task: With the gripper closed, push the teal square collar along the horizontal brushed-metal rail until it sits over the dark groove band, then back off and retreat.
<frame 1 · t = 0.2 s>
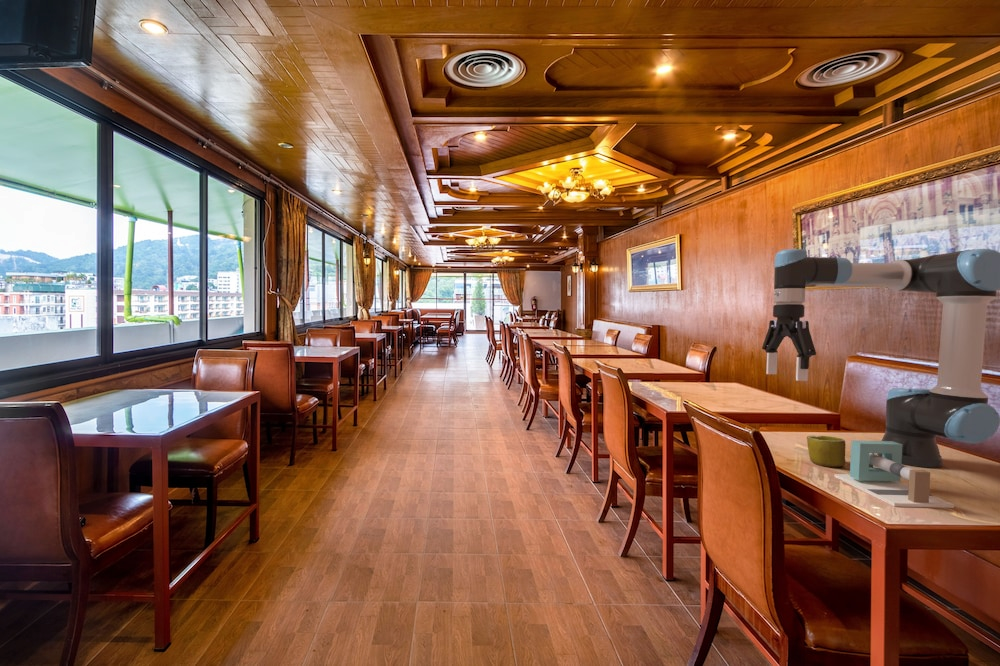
hand: (785, 377, 125), 28 cm above the table, fingers open, 13 cm apart
collar: (875, 460, 116), point 7 cm above the table, slide at 0.0 cm
pipe rail: (889, 491, 112), on the table
mug: (822, 462, 135), on the table
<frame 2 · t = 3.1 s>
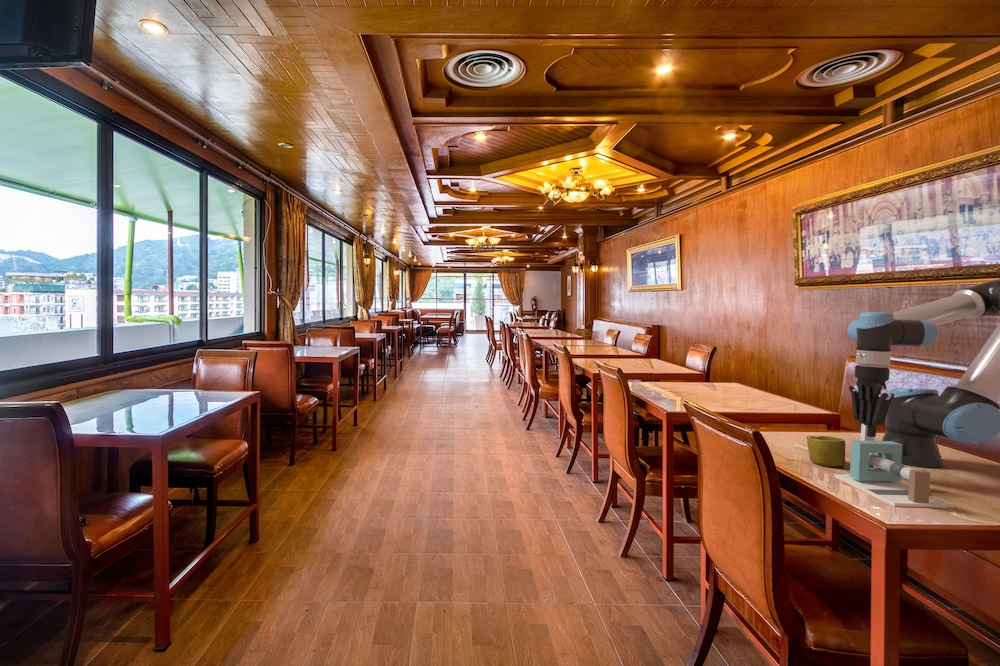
hand: (866, 446, 124), 8 cm above the table, fingers closed
nothing on the table moved.
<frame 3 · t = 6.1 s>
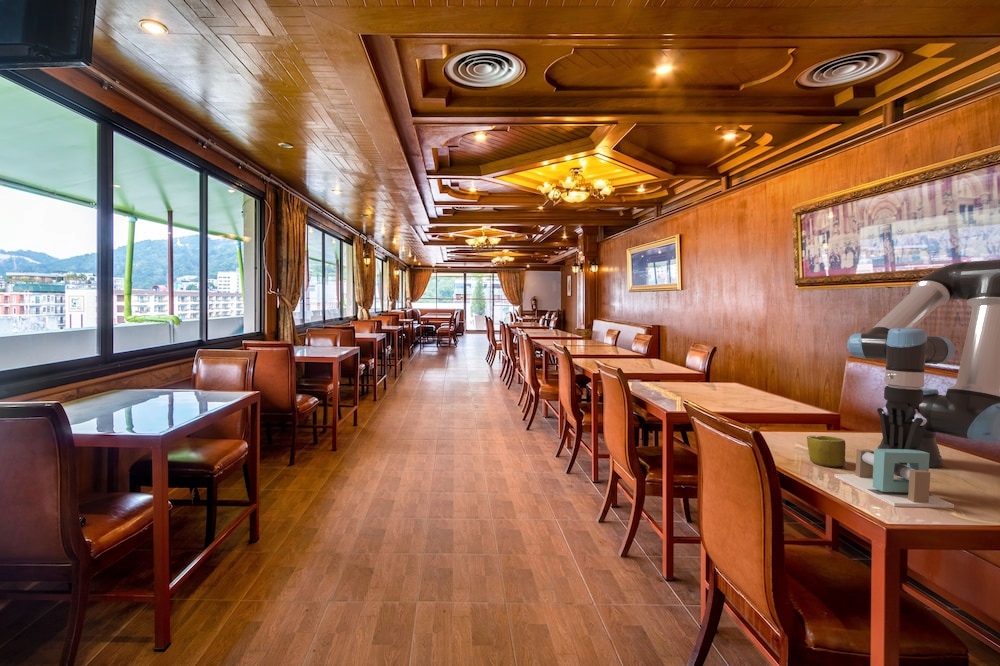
hand: (898, 474, 114), 3 cm above the table, fingers closed
collar: (900, 470, 109), point 7 cm above the table, slide at 7.4 cm, touching hand
everything else where it was.
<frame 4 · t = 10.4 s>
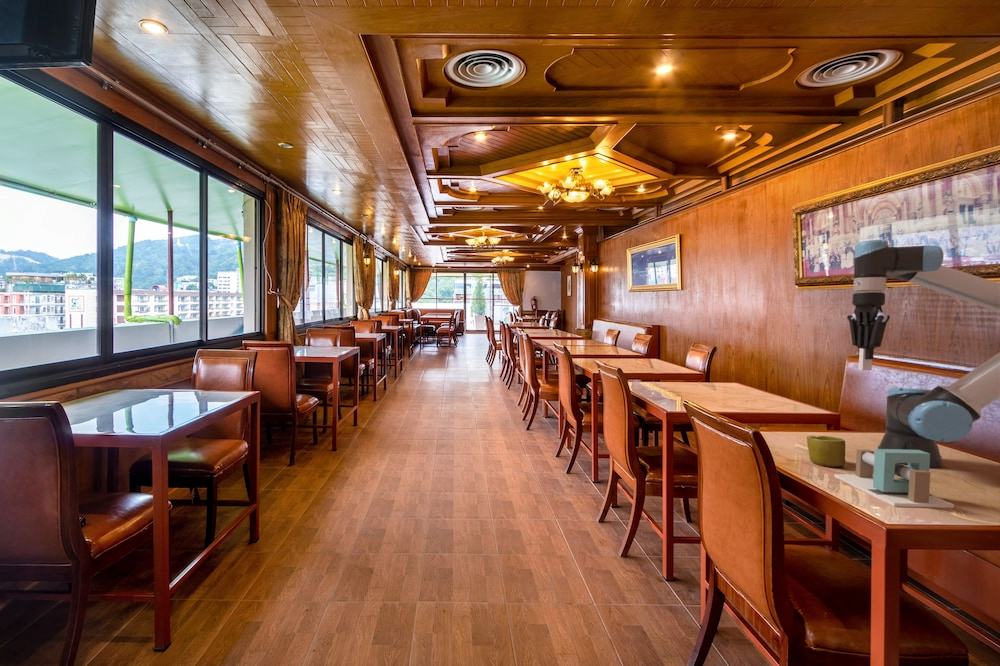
hand: (864, 369, 131), 29 cm above the table, fingers closed
collar: (901, 470, 109), point 7 cm above the table, slide at 7.6 cm
everything else where it was.
at the end: collar slide at 7.6 cm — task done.
